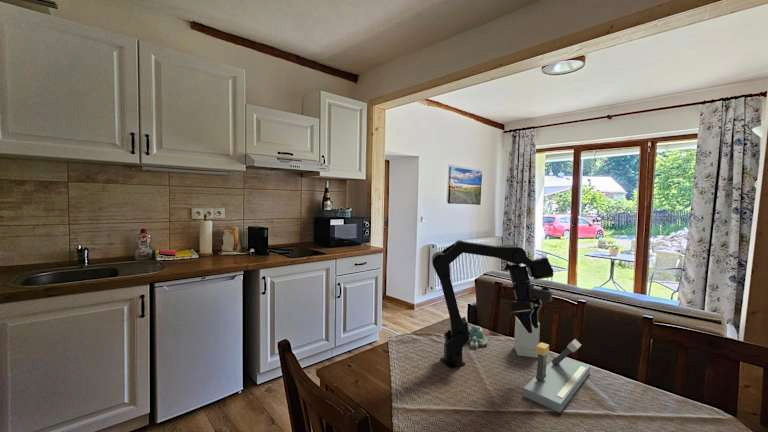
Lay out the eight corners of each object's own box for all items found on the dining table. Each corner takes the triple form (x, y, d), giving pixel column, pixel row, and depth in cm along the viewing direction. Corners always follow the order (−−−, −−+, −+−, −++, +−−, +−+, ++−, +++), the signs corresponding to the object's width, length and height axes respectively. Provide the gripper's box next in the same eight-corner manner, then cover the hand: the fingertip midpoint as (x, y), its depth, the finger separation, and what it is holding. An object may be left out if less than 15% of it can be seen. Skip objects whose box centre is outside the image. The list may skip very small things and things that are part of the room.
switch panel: (523, 396, 94) (523, 387, 94) (557, 361, 115) (557, 354, 115) (560, 412, 87) (560, 403, 87) (589, 373, 108) (590, 365, 108)
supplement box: (538, 358, 118) (540, 324, 117) (517, 355, 119) (519, 322, 118) (533, 349, 125) (535, 317, 124) (513, 346, 126) (515, 315, 126)
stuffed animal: (459, 334, 124) (462, 318, 135) (459, 350, 126) (462, 333, 137) (489, 338, 121) (489, 321, 132) (488, 355, 122) (488, 337, 134)
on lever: (549, 361, 108) (571, 342, 103) (553, 357, 111) (575, 338, 106) (555, 367, 106) (578, 348, 102) (559, 363, 109) (581, 344, 104)
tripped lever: (534, 380, 98) (536, 346, 97) (539, 375, 101) (541, 342, 100) (542, 383, 96) (544, 348, 95) (547, 378, 99) (549, 344, 98)
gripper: (541, 279, 96) (556, 333, 92) (551, 277, 111) (564, 324, 107) (504, 285, 102) (516, 336, 98) (518, 282, 117) (529, 326, 113)
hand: (533, 330), depth 104 cm, fingers open, 9 cm apart
